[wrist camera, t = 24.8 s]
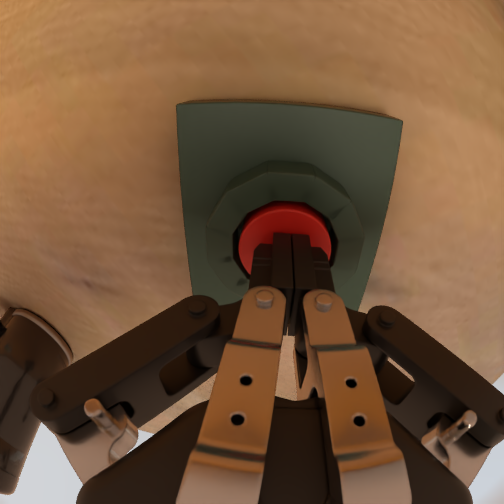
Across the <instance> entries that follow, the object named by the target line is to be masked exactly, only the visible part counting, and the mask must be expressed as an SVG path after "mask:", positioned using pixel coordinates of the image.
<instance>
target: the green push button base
mask: <svg viewBox="0 0 504 504" xmlns="http://www.w3.org/2000/svg"><path fill="white" fill-rule="evenodd" d="M176 113H177V137H178V155H179V170H180V183H181V196H182V207H183V217H184V227H185V237H186V246H187V254H188V262H189V270H190V278H191V285H192V292H193V295H205V296H209V297H211V298H213V299H214V300H216V301H217V303H218V304H219V305H225V304H231V303H234V302H237V301H239V300H241V299H242V298H243V296H244V294H245V293H246V292H247V291H248V288H249V281H250V274H249V273H248V272H247V270H246V269H245V267H244V266H243V264H242V262H241V259H240V256H239V241H240V236H241V232H242V228H243V223H244V220H245V218H246V216H247V214H248V212H251V211H253V210H255V209H257V208H259V207H261V206H263V205H266V204H268V203H270V202H272V201H274V200H276V201H292V202H305V203H306V204H308V205H309V206H311V207H312V208H314V209H315V210H317V211H319V212H320V213H321V214H322V216H323V218H324V220H325V223H326V227H327V230H328V233H329V237H330V241H331V255H330V258H329V265H330V270H331V274H332V278H333V283H334V288H335V292H336V294H337V295H339V296H340V297H341V298H342V300H343V302H344V305H345V306H346V307H347V308H349V309H352V310H355V311H358V309H359V306H360V303H361V300H362V297H363V294H364V291H365V288H366V285H367V282H368V279H369V275H370V272H371V269H372V265H373V262H374V259H375V255H376V252H377V248H378V244H379V240H380V237H381V233H382V229H383V225H384V221H385V217H386V213H387V208H388V204H389V199H390V195H391V190H392V185H393V180H394V175H395V170H396V164H397V158H398V152H399V146H400V140H401V133H402V125H403V121H402V120H400V119H397V118H394V117H392V116H389V115H386V114H381V113H375V112H370V111H364V110H358V109H352V108H345V107H338V106H330V105H322V104H313V103H302V102H289V101H272V100H196V101H188V102H183V103H179V104H177V105H176Z"/></svg>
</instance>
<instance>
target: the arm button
mask: <svg viewBox="0 0 504 504" xmlns="http://www.w3.org/2000/svg"><path fill="white" fill-rule="evenodd" d="M273 232H275V233H290V234H306V235H309V237H310V243H311V247H321V248H322V249H323V250H324V251H325V253H326V254H327V256H328V260H329V258H330V255H331V241H330V237H329V233H328V230H327V227H326V223H325V220H324V218H323V216H322V214H321V213H320V212H319V211H317V210H315V209H314V208H312V207H311V206H309V205H308V204H306V203H305V202H292V201H276V200H274V201H272V202H270V203H268V204H266V205H263V206H261V207H259V208H257V209H255V210H253V211H251V212H248V214H247V216H246V218H245V220H244V223H243V228H242V232H241V236H240V241H239V256H240V259H241V262H242V264H243V266H244V267H245V269H246V270H247V272H248V273H249V274H251V267H252V260H253V253H254V249H255V248H256V247H257V246H258V245H259V244H260V243H264V244H273Z"/></svg>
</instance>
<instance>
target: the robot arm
mask: <svg viewBox="0 0 504 504" xmlns="http://www.w3.org/2000/svg"><path fill="white" fill-rule="evenodd" d="M287 327H288V336H295V344H294V349H293V359H294V368H295V378H296V388H297V401H292V400H288V399H284V398H280V397H277V396H275V391H276V384H277V376H278V369H279V361H280V353H281V346H282V340H283V335H286V333H287ZM389 357H390V358H391V359H392V360H393V361H395V362H396V363H397V364H398V365H399V366H401V367H402V368H403V369H404V370H405V371H407V372H408V373H409V374H410V375H411V376H412V377H413V379H414V381H415V382H413V381H411V380H410V379H409V378H408V377H407V376H405V375H404V374H403V373H402V372H401V371H400V370H398V369H397V368H396V367H395V366H394V365H392V364H391V363H390V362H389V361H388V358H389ZM72 359H73V357H72V353H71V351H70V349H69V347H68V345H67V344H66V343H65V341H64V340H63V339H62V338H61V336H60V335H59V334H58V333H57V332H56V331H55V330H54V329H53V328H52V327H51V326H49V325H48V324H47V323H46V322H45V321H43V320H42V319H41V318H39V317H38V316H36V315H35V314H33V313H31V312H29V311H27V310H24V309H16V310H15V309H13V308H11V307H10V308H9V309H8V311H7V312H6V313H5V315H4V316H3V317H2V318H1V320H0V494H5V495H10V494H12V493H14V491H15V489H16V486H17V483H18V480H19V477H20V474H21V471H22V469H23V466H24V463H25V460H26V458H27V455H28V452H29V450H30V447H31V445H32V442H33V440H34V437H35V435H36V433H37V430H38V428H39V426H40V423H41V422H42V423H43V424H44V425H45V426H47V428H48V429H49V430H50V431H51V432H52V433H53V434H55V436H56V437H57V439H58V441H59V443H60V445H61V447H62V449H63V451H64V453H65V455H66V456H67V458H68V460H69V462H70V464H71V465H72V467H73V469H74V470H75V472H76V473H77V475H78V477H79V479H80V480H81V482H82V483H83V486H82V488H81V490H80V492H79V494H78V496H77V501H76V504H473V501H472V496H471V494H470V491H469V489H468V488H469V486H470V485H471V483H472V482H473V480H474V479H475V477H476V475H477V474H478V472H479V470H480V469H481V467H482V465H483V464H484V462H485V460H486V458H487V456H488V455H489V453H490V451H491V449H492V448H493V447H494V446H495V445H496V444H498V443H499V442H501V441H502V440H503V439H504V395H503V394H502V393H501V392H500V391H499V390H497V389H496V388H495V387H494V386H493V385H491V384H490V383H489V382H488V381H487V380H485V379H484V378H483V377H482V376H481V375H479V374H478V373H477V372H476V371H474V370H473V369H472V368H471V367H469V366H468V365H467V364H466V363H464V362H463V361H462V360H461V359H459V358H458V357H457V356H456V355H454V354H453V353H452V352H451V351H449V350H448V349H447V348H445V347H444V346H443V345H442V344H440V343H439V342H438V341H436V340H435V339H434V338H433V337H431V336H430V335H429V334H427V333H426V332H425V331H423V330H422V329H421V328H419V327H418V326H417V325H416V324H414V323H413V322H412V321H410V320H409V319H408V318H406V317H405V316H404V315H402V314H401V313H400V312H398V311H397V310H395V309H393V308H391V307H388V306H375V307H373V308H371V309H370V310H369V311H368V313H367V314H365V313H362V312H358V311H355V310H352V309H349V308H347V307H346V306H345V305H344V302H343V300H342V298H341V297H340V296H339V295H337V294H336V292H335V288H334V283H333V278H332V274H331V270H330V265H329V260H328V256H327V254H326V253H325V251H324V250H323V249H322V248H321V247H311V243H310V237H309V235H306V234H290V233H275V232H273V244H264V243H260V244H259V245H258V246H257V247H256V248H255V249H254V253H253V260H252V267H251V274H250V281H249V288H248V291H247V292H246V293H245V294H244V296H243V298H242V299H241V300H239V301H237V302H234V303H231V304H225V305H219V304H218V303H217V301H216V300H214V299H213V298H211V297H209V296H205V295H193V296H190V297H187V298H185V299H183V300H181V301H180V302H178V303H176V304H175V305H173V306H171V307H169V308H168V309H166V310H164V311H163V312H161V313H159V314H158V315H156V316H154V317H152V318H151V319H149V320H147V321H146V322H144V323H142V324H140V325H139V326H137V327H135V328H134V329H132V330H130V331H128V332H127V333H125V334H123V335H122V336H120V337H118V338H116V339H115V340H113V341H111V342H109V343H108V344H106V345H104V346H103V347H101V348H99V349H97V350H96V351H94V352H92V353H91V354H89V355H87V356H85V357H84V358H82V359H80V360H78V361H77V362H75V363H73V364H71V362H72ZM70 364H71V365H70ZM215 373H217V375H216V378H215V382H214V385H213V389H212V392H211V396H210V399H209V400H207V401H204V402H201V403H199V404H197V405H195V406H193V407H191V408H189V409H188V410H186V411H185V412H183V413H182V414H181V415H180V416H178V417H177V418H176V419H174V420H173V421H172V422H170V423H169V424H168V425H166V426H165V427H164V428H162V429H161V430H160V431H158V432H157V433H156V434H154V435H153V436H152V437H150V438H149V439H148V440H146V441H145V442H143V443H142V444H141V445H139V446H138V447H137V448H135V449H134V450H132V451H131V452H129V451H130V450H131V449H132V448H133V447H134V446H135V444H136V442H137V440H138V428H139V427H141V426H142V425H144V424H145V423H147V422H148V421H150V420H151V419H153V418H154V417H156V416H157V415H159V414H160V413H162V412H163V411H164V410H166V409H167V408H169V407H170V406H172V405H173V404H174V403H176V402H177V401H179V400H180V399H182V398H183V397H184V396H186V395H187V394H188V393H190V392H191V391H193V390H194V389H195V388H197V387H198V386H199V385H201V384H202V383H203V382H205V381H206V380H207V379H209V378H210V377H211V376H213V375H214V374H215ZM386 410H387V411H388V412H389V413H388V412H387V411H386ZM406 428H407V429H408V430H409V431H410V432H411V433H412V434H413V435H414V436H416V437H417V438H418V439H419V440H420V441H421V442H419V441H418V440H417V439H416V438H415V437H414V436H413V435H412V434H411V433H410V432H409V431H408V430H407V429H406ZM128 452H129V453H128ZM127 453H128V454H127Z"/></svg>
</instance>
